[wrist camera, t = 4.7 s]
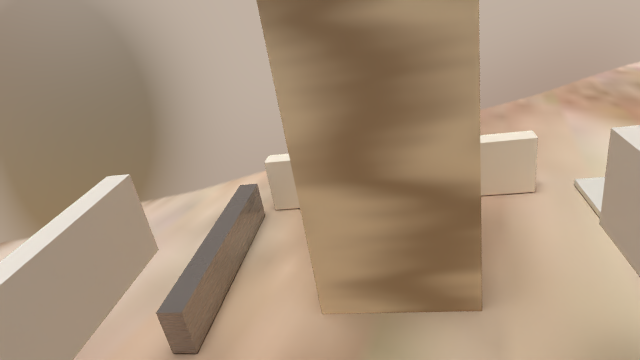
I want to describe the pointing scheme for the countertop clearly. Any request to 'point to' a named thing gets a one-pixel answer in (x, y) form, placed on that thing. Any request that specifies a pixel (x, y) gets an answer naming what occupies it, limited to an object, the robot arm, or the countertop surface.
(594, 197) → the grey mat
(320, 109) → the maple block
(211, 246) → the bar
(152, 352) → the countertop surface
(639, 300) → the countertop surface
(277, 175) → the lane rail
